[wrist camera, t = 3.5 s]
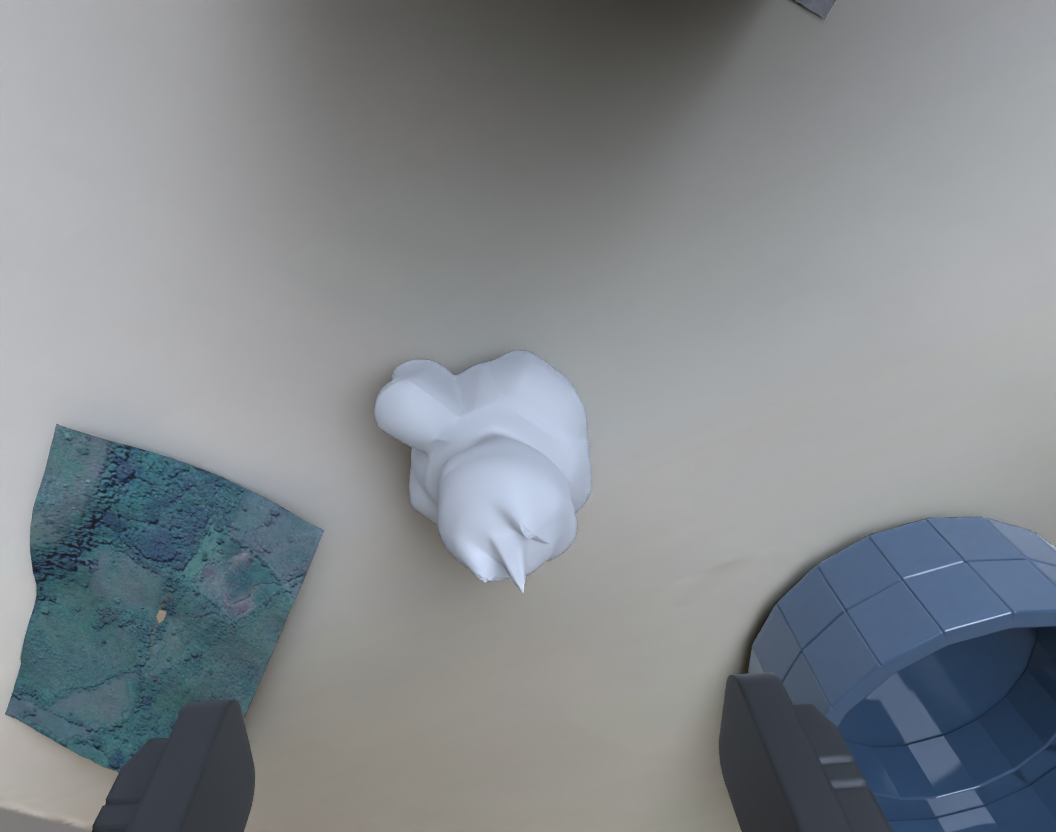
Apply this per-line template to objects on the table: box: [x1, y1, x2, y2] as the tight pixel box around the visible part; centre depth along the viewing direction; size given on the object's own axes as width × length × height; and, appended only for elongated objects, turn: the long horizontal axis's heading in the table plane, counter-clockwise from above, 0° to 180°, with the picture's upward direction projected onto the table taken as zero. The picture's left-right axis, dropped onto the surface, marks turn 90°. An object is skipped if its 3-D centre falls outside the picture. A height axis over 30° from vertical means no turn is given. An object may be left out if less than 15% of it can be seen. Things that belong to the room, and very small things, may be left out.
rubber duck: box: [374, 350, 591, 593], centre depth 19 cm, size 5×7×8 cm
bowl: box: [748, 517, 1056, 832], centre depth 25 cm, size 12×12×5 cm
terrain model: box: [5, 424, 324, 772], centre depth 25 cm, size 13×8×2 cm, turn 155°
